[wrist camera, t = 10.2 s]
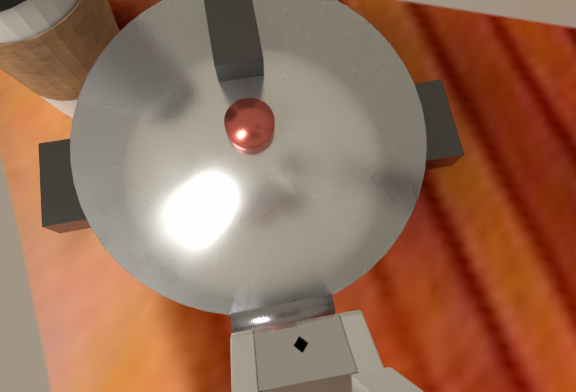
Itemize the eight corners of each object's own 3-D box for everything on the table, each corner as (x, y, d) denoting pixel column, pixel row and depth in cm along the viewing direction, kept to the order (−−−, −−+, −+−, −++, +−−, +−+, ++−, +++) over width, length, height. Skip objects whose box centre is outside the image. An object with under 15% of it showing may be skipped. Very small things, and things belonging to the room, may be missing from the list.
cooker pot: (379, 78, 31) (419, -14, 22) (431, 273, 27) (504, 256, 19) (100, 121, 29) (26, 42, 21) (118, 333, 26) (37, 345, 17)
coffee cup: (62, 18, 31) (-122, -232, 17) (172, 47, 31) (81, -183, 17) (12, 120, 29) (-248, -66, 15) (130, 153, 29) (-18, -6, 14)
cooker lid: (376, -25, 21) (389, -66, 19) (459, 291, 18) (488, 291, 16) (68, 18, 20) (41, -19, 18) (98, 362, 17) (69, 373, 15)
